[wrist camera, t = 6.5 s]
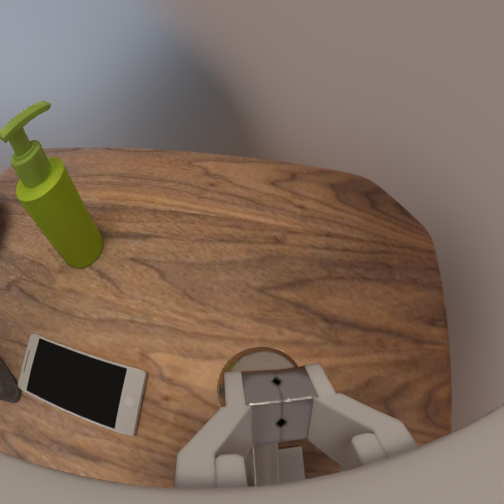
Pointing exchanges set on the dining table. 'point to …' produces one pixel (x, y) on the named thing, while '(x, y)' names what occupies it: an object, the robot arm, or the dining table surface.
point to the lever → (247, 360)
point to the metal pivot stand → (282, 465)
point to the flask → (8, 385)
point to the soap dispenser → (51, 194)
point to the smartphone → (83, 384)
